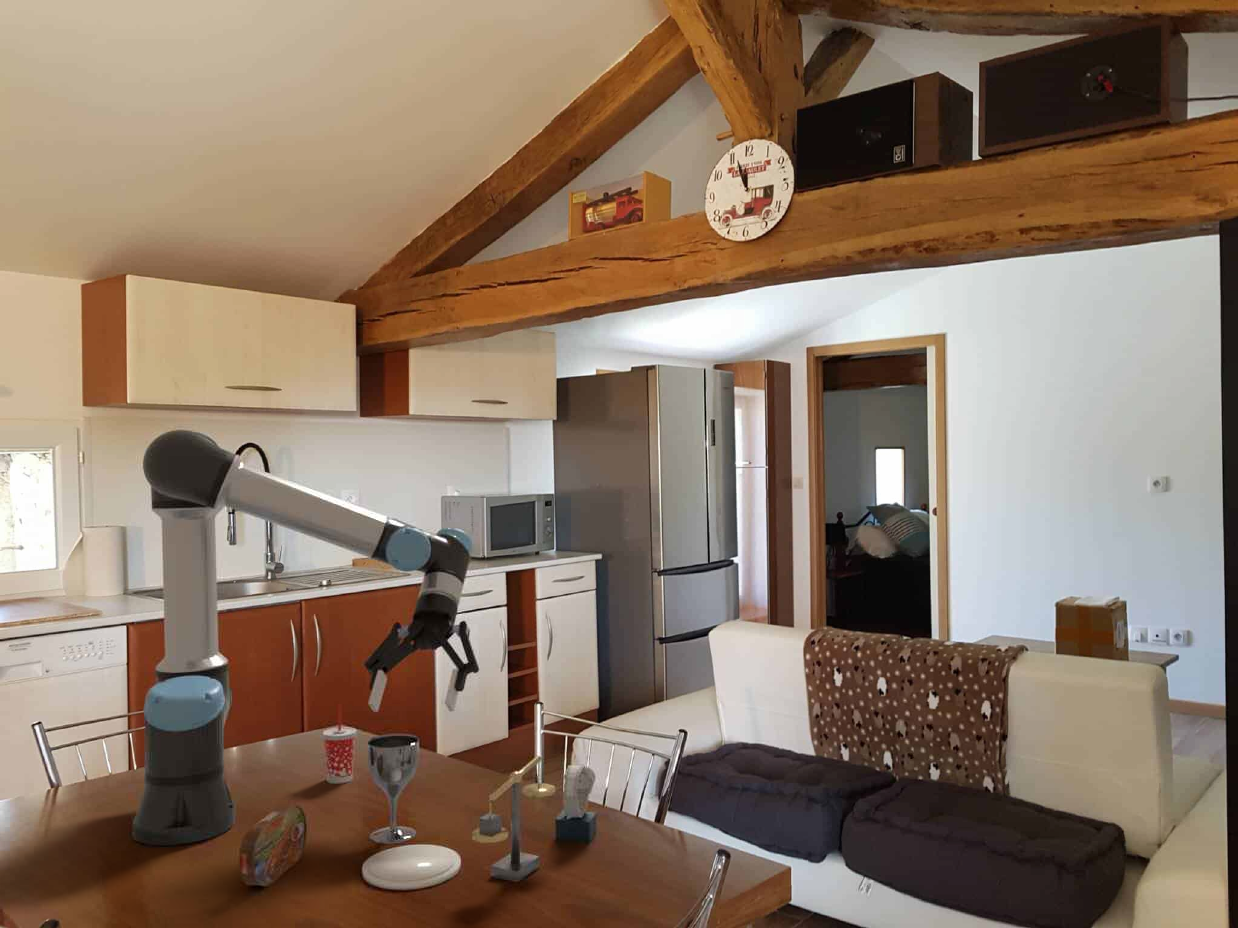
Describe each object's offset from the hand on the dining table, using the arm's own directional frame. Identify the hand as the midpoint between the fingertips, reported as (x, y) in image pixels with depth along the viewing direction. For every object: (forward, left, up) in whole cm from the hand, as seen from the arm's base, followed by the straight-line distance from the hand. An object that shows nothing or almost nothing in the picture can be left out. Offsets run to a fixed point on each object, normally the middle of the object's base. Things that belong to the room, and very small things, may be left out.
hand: (410, 707), depth 162 cm
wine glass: (+3, -8, -18) cm, 20 cm away
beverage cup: (-24, +9, -18) cm, 31 cm away
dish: (+14, -17, -18) cm, 29 cm away
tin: (-3, -27, -18) cm, 33 cm away
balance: (+28, -11, -18) cm, 35 cm away
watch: (+29, +5, -18) cm, 35 cm away
